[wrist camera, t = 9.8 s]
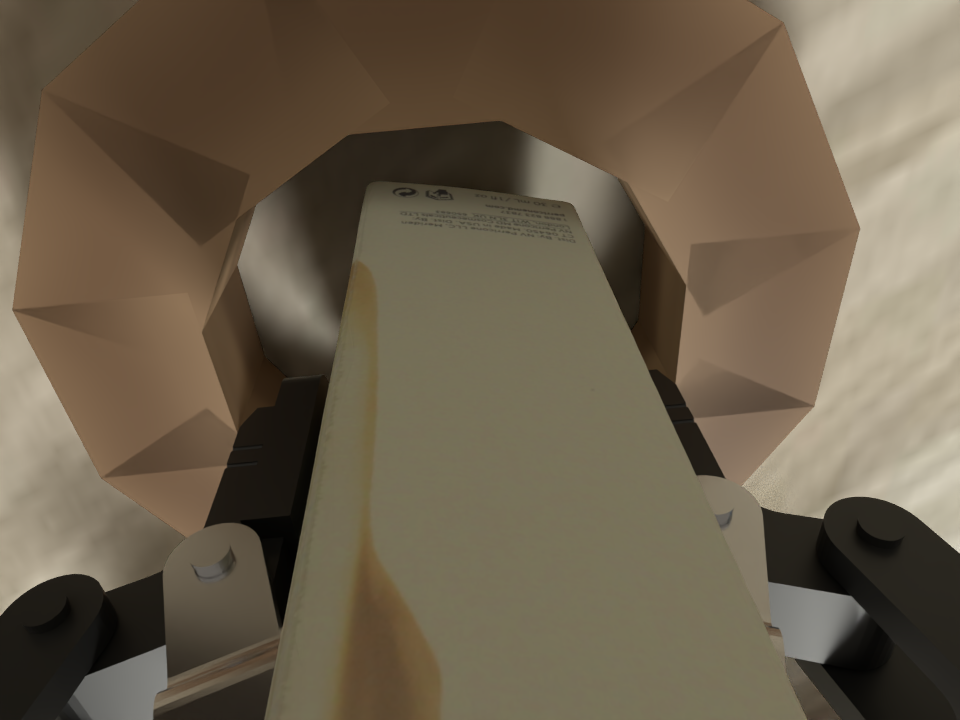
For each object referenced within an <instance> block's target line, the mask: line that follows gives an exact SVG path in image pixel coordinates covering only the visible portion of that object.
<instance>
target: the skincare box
mask: <svg viewBox="0 0 960 720" xmlns="http://www.w3.org/2000/svg"><path fill="white" fill-rule="evenodd" d="M264 720H807V718H806V715H805V713H804V711H803V709H802V707H801V704H800V702H799V700H798V698H797V696H796V693H795V691H794V689H793V687H792V685H791V683H790V680H789V678H788V676H787V674H786V672H785V669H784V667H783V665H782V663H781V661H780V659H779V656H778V654H777V652H776V650H775V648H774V646H773V644H772V641H771V639H770V637H769V634H768V632H767V630H766V627H765V625H764V623H763V620H762V618H761V616H760V613H759V611H758V609H757V607H756V605H755V603H754V601H753V599H752V597H751V595H750V593H749V590H748V588H747V586H746V584H745V582H744V579H743V577H742V574H741V572H740V570H739V567H738V565H737V562H736V560H735V558H734V556H733V554H732V552H731V550H730V548H729V546H728V544H727V542H726V540H725V538H724V535H723V533H722V531H721V528H720V526H719V524H718V521H717V519H716V517H715V515H714V513H713V511H712V509H711V507H710V505H709V503H708V501H707V499H706V497H705V494H704V492H703V489H702V487H701V484H700V482H699V480H698V478H697V476H696V474H695V472H694V470H693V468H692V465H691V463H690V461H689V458H688V456H687V454H686V452H685V450H684V448H683V446H682V444H681V441H680V439H679V437H678V435H677V433H676V431H675V428H674V426H673V424H672V422H671V420H670V417H669V415H668V413H667V411H666V409H665V406H664V404H663V402H662V400H661V397H660V395H659V393H658V391H657V389H656V386H655V384H654V382H653V380H652V378H651V376H650V374H649V371H648V369H647V366H646V364H645V362H644V360H643V358H642V356H641V353H640V351H639V349H638V347H637V344H636V342H635V340H634V337H633V335H632V333H631V331H630V329H629V327H628V324H627V322H626V320H625V318H624V316H623V314H622V312H621V310H620V308H619V305H618V303H617V301H616V298H615V296H614V294H613V292H612V289H611V287H610V285H609V283H608V281H607V279H606V276H605V274H604V272H603V270H602V267H601V265H600V263H599V261H598V259H597V257H596V254H595V252H594V250H593V247H592V245H591V243H590V240H589V238H588V236H587V234H586V232H585V230H584V228H583V226H582V223H581V221H580V219H579V216H578V214H577V212H576V210H575V208H574V206H573V205H572V204H570V203H567V202H563V201H556V200H548V199H540V198H533V197H527V196H521V195H513V194H506V193H498V192H491V191H482V190H474V189H466V188H457V187H448V186H438V185H426V184H412V183H399V182H385V181H374V182H371V183H370V184H368V186H367V188H366V192H365V196H364V201H363V206H362V211H361V216H360V221H359V227H358V233H357V239H356V244H355V250H354V256H353V261H352V267H351V272H350V278H349V283H348V289H347V294H346V299H345V304H344V309H343V314H342V319H341V324H340V330H339V335H338V341H337V346H336V352H335V357H334V363H333V368H332V373H331V378H330V383H329V388H328V393H327V398H326V403H325V408H324V413H323V418H322V424H321V429H320V435H319V440H318V446H317V451H316V456H315V462H314V467H313V473H312V478H311V484H310V489H309V494H308V499H307V505H306V510H305V515H304V520H303V525H302V530H301V536H300V541H299V546H298V551H297V556H296V561H295V567H294V572H293V577H292V582H291V587H290V592H289V597H288V603H287V608H286V613H285V618H284V623H283V628H282V633H281V638H280V643H279V648H278V653H277V658H276V663H275V668H274V673H273V678H272V683H271V688H270V693H269V698H268V703H267V708H266V714H265V719H264Z"/></svg>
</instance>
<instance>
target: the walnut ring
mask: <svg viewBox="0 0 960 720" xmlns="http://www.w3.org/2000/svg"><path fill="white" fill-rule="evenodd" d="M490 121H503V122H505V123H507V124H509V125H511V126H513V127H515V128H517V129H519V130H521V131H523V132H525V133H527V134H529V135H531V136H533V137H535V138H538V139H540V140H542V141H544V142H546V143H548V144H550V145H552V146H554V147H556V148H558V149H560V150H562V151H564V152H566V153H568V154H570V155H573V156H575V157H577V158H579V159H581V160H583V161H585V162H587V163H589V164H591V165H593V166H595V167H597V168H599V169H601V170H603V171H605V172H607V173H610V174H612V175H614V176H616V177H617V178H618V180H619V182H620V183H621V185H622V187H623V189H624V190H625V192H626V194H627V196H628V197H629V199H630V201H631V202H632V204H633V206H634V208H635V209H636V211H637V213H638V215H639V216H640V218H641V220H642V222H643V223H644V225H645V233H644V247H643V262H642V277H641V291H640V306H639V320H638V321H637V323H636V324H635V326H634V327H633V329H632V330H631V333H632V335H633V337H634V340H635V342H636V344H637V347H638V349H639V351H640V353H641V356H642V358H643V360H644V362H645V364H646V366H647V369H648V370H654V369H657V370H658V371H659V372H661V373H662V374H663V375H665V376H666V377H667V378H669V379H670V380H671V381H672V382H674V383H675V384H676V385H677V387H678V389H679V391H680V393H681V394H682V396H683V398H684V400H685V402H686V407H688V408H689V410H690V412H691V413H692V415H693V417H694V422H695V423H697V425H698V427H699V429H700V431H701V432H702V434H703V436H704V438H705V440H706V442H707V444H708V446H709V448H710V450H711V451H712V453H713V455H714V457H715V459H716V461H717V463H718V465H719V467H720V469H721V470H722V472H723V474H724V476H725V478H726V479H727V480H730V481H732V482H735V483H737V484H739V485H740V486H742V485H743V484H744V482H745V481H746V480H747V479H748V478H749V477H750V476H751V475H752V474H753V473H754V472H755V470H756V469H757V468H758V467H759V466H760V465H761V464H762V463H763V462H764V461H765V459H766V458H767V457H768V456H769V455H770V454H771V453H772V452H773V451H774V450H775V449H776V447H777V446H778V445H779V444H780V443H781V442H782V441H783V440H784V439H785V438H786V437H787V435H788V434H789V433H790V432H791V431H792V430H793V429H794V428H795V427H796V426H797V424H798V423H799V422H800V421H801V420H802V419H803V418H804V417H805V416H806V415H807V414H808V412H809V411H810V410H811V409H812V408H813V407H814V405H815V401H816V397H817V393H818V390H819V386H820V382H821V378H822V374H823V370H824V366H825V362H826V359H827V355H828V351H829V347H830V343H831V339H832V335H833V331H834V328H835V324H836V320H837V316H838V312H839V308H840V304H841V300H842V297H843V293H844V289H845V285H846V281H847V277H848V273H849V270H850V266H851V262H852V258H853V254H854V250H855V246H856V242H857V239H858V235H859V231H860V227H859V224H858V221H857V219H856V216H855V213H854V210H853V208H852V205H851V202H850V200H849V197H848V194H847V192H846V189H845V186H844V184H843V181H842V178H841V176H840V173H839V170H838V167H837V165H836V162H835V159H834V157H833V154H832V151H831V149H830V146H829V143H828V141H827V138H826V135H825V133H824V130H823V127H822V124H821V122H820V119H819V116H818V114H817V111H816V108H815V106H814V103H813V100H812V98H811V95H810V92H809V90H808V87H807V84H806V81H805V79H804V76H803V73H802V71H801V68H800V65H799V63H798V60H797V57H796V55H795V52H794V49H793V47H792V44H791V41H790V38H789V36H788V33H787V30H786V28H785V25H784V22H782V21H780V20H779V19H777V18H775V17H774V16H772V15H770V14H769V13H767V12H766V11H764V10H762V9H761V8H759V7H758V6H756V5H754V4H753V3H751V2H749V1H748V0H139V1H138V2H137V3H136V4H135V5H134V6H133V7H131V8H130V9H129V10H128V11H127V12H126V13H125V14H124V15H123V16H122V17H121V18H120V19H118V20H117V21H116V22H115V23H114V24H113V25H112V26H111V27H110V28H109V29H108V30H107V31H105V32H104V33H103V34H102V35H101V36H100V37H99V38H98V39H97V40H96V41H95V42H94V43H92V44H91V45H90V46H89V47H88V48H87V49H86V50H85V51H84V52H83V53H82V54H80V55H79V56H78V57H77V58H76V59H75V60H74V61H73V62H72V63H71V64H70V65H69V66H67V67H66V68H65V69H64V70H63V71H62V72H61V73H60V74H59V75H58V76H57V77H56V78H54V79H53V80H52V81H51V82H50V83H49V84H48V85H47V86H46V87H45V88H44V89H42V93H41V101H40V108H39V116H38V123H37V131H36V138H35V146H34V153H33V160H32V168H31V175H30V183H29V190H28V198H27V205H26V213H25V220H24V227H23V235H22V242H21V250H20V257H19V265H18V272H17V280H16V287H15V294H14V302H13V309H12V310H13V312H14V314H15V316H16V318H17V320H18V322H19V323H20V325H21V327H22V329H23V331H24V333H25V335H26V337H27V339H28V340H29V342H30V344H31V346H32V348H33V350H34V352H35V354H36V356H37V358H38V359H39V361H40V363H41V365H42V367H43V369H44V371H45V373H46V375H47V377H48V378H49V380H50V382H51V384H52V386H53V388H54V390H55V392H56V394H57V396H58V397H59V399H60V401H61V403H62V405H63V407H64V409H65V411H66V413H67V414H68V416H69V418H70V420H71V422H72V424H73V426H74V428H75V430H76V432H77V433H78V435H79V437H80V439H81V441H82V443H83V445H84V447H85V449H86V451H87V452H88V454H89V456H90V458H91V460H92V462H93V464H94V466H95V468H96V470H97V471H98V473H99V475H100V477H101V478H102V479H103V480H104V481H106V482H107V483H109V484H110V485H112V486H113V487H115V488H116V489H117V490H119V491H120V492H122V493H123V494H125V495H126V496H127V497H129V498H130V499H132V500H133V501H135V502H136V503H138V504H139V505H140V506H142V507H143V508H145V509H146V510H148V511H149V512H150V513H152V514H153V515H155V516H156V517H158V518H159V519H161V520H162V521H163V522H165V523H166V524H168V525H169V526H171V527H172V528H174V529H175V530H176V531H178V532H179V533H181V534H182V535H184V536H185V537H186V538H187V537H189V536H190V535H192V534H194V533H195V532H197V531H199V530H201V529H204V526H205V523H206V520H207V517H208V515H209V512H210V509H211V506H212V503H213V501H214V498H215V495H216V492H217V489H218V487H219V484H220V481H221V478H222V475H223V472H224V470H225V468H227V461H228V458H229V456H230V453H231V451H233V444H234V442H235V439H236V436H237V433H238V430H239V428H240V426H241V425H242V424H243V423H244V422H245V421H246V420H247V418H248V417H249V416H250V415H251V414H252V413H253V412H254V411H255V410H256V409H257V408H260V407H270V406H275V403H276V400H277V396H278V393H279V390H280V386H281V383H282V381H283V379H284V378H287V377H286V376H285V375H284V374H283V373H282V372H281V371H280V370H278V369H277V368H276V367H275V366H274V365H273V364H272V363H271V362H270V361H269V360H268V359H267V358H266V357H265V356H264V353H263V350H262V346H261V343H260V340H259V336H258V333H257V330H256V327H255V323H254V320H253V317H252V313H251V310H250V307H249V303H248V300H247V297H246V293H245V290H244V287H243V283H242V280H241V277H240V273H239V270H238V267H237V263H238V260H239V257H240V254H241V251H242V248H243V244H244V241H245V238H246V235H247V232H248V229H249V226H250V222H251V219H252V216H253V213H254V210H255V207H256V204H257V203H259V202H260V201H261V200H263V199H264V198H265V197H267V196H268V195H269V194H271V193H272V192H273V191H274V190H276V189H277V188H278V187H280V186H281V185H282V184H284V183H285V182H286V181H288V180H289V179H290V178H292V177H293V176H294V175H296V174H297V173H298V172H300V171H301V170H302V169H304V168H305V167H306V166H308V165H309V164H310V163H311V162H313V161H314V160H315V159H317V158H318V157H319V156H321V155H322V154H323V153H325V152H326V151H327V150H329V149H330V148H331V147H333V146H334V145H335V144H337V143H338V142H339V141H341V140H342V139H343V138H344V137H346V136H347V135H350V134H361V133H372V132H382V131H393V130H404V129H415V128H426V127H436V126H447V125H458V124H469V123H480V122H490Z"/></svg>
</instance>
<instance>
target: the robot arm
mask: <svg viewBox="0 0 960 720" xmlns="http://www.w3.org/2000/svg"><path fill="white" fill-rule="evenodd" d="M648 371H649V374H650V376H651V378H652V380H653V382H654V384H655V386H656V389H657V391H658V393H659V395H660V397H661V400H662V402H663V404H664V406H665V409H666V411H667V413H668V415H669V417H670V420H671V422H672V424H673V426H674V428H675V431H676V433H677V435H678V437H679V439H680V441H681V444H682V446H683V448H684V450H685V452H686V454H687V456H688V458H689V461H690V463H691V465H692V468H693V470H694V472H695V474H696V476H697V478H698V480H699V482H700V484H701V487H702V489H703V492H704V494H705V497H706V499H707V501H708V503H709V505H710V507H711V509H712V511H713V513H714V515H715V517H716V519H717V521H718V524H719V526H720V528H721V531H722V533H723V535H724V538H725V540H726V542H727V544H728V546H729V548H730V550H731V552H732V554H733V556H734V558H735V560H736V562H737V565H738V567H739V570H740V572H741V574H742V577H743V579H744V582H745V584H746V586H747V588H748V590H749V593H750V595H751V597H752V599H753V601H754V603H755V605H756V607H757V609H758V611H759V613H760V616H761V618H762V620H763V623H764V625H765V627H766V630H767V632H768V634H769V637H770V639H771V641H772V644H773V646H774V648H775V650H776V652H777V654H778V656H779V659H780V661H781V663H782V665H783V667H784V669H785V672H786V662H785V656H787V657H792V658H794V659H795V660H796V662H797V663H798V664H799V666H800V667H801V668H802V670H803V671H804V672H805V673H806V675H807V676H808V677H809V678H810V680H811V681H812V682H813V684H814V685H815V686H816V687H817V689H818V690H819V691H820V693H821V694H822V695H823V696H824V698H825V699H826V700H827V701H828V703H829V704H830V705H831V707H832V708H833V709H834V710H835V712H836V713H837V714H838V715H839V717H840V718H841V719H842V720H960V554H959V553H958V552H957V551H956V550H955V549H954V548H952V547H951V546H950V545H949V544H948V543H947V542H945V541H944V540H943V539H942V538H941V537H939V536H938V535H937V534H936V533H935V532H934V531H932V530H931V529H930V528H929V527H928V526H926V525H925V524H924V523H923V522H922V521H921V520H919V519H918V518H917V517H915V516H914V515H913V514H912V513H910V512H908V511H907V510H905V509H903V508H901V507H899V506H897V505H895V504H892V503H890V502H887V501H884V500H880V499H876V498H869V497H849V498H845V499H841V500H839V501H837V502H835V503H833V504H832V505H831V506H830V507H829V508H828V509H827V511H826V513H825V515H824V518H823V519H818V518H812V517H805V516H798V515H791V514H785V513H780V512H775V511H771V510H768V509H765V508H763V507H760V505H759V503H758V501H757V500H756V499H755V497H754V496H753V495H752V494H751V493H750V492H749V491H747V490H746V489H745V488H744V487H742V486H740V485H739V484H737V483H735V482H732V481H730V480H727V479H726V478H725V476H724V474H723V472H722V470H721V469H720V467H719V465H718V463H717V461H716V459H715V457H714V455H713V453H712V451H711V450H710V448H709V446H708V444H707V442H706V440H705V438H704V436H703V434H702V432H701V431H700V429H699V427H698V425H697V423H695V422H694V417H693V415H692V413H691V412H690V410H689V408H688V407H686V402H685V400H684V398H683V396H682V394H681V393H680V391H679V389H678V387H677V385H676V384H675V383H674V382H672V381H671V380H670V379H669V378H667V377H666V376H665V375H663V374H662V373H661V372H659V371H658V370H657V369H654V370H648ZM328 388H329V384H328V381H327V378H326V376H325V375H314V376H304V377H293V378H284V379H283V381H282V383H281V386H280V390H279V393H278V396H277V400H276V403H275V406H270V407H260V408H257V409H256V410H255V411H254V412H253V413H252V414H251V415H250V416H249V417H248V418H247V420H246V421H245V422H244V423H243V424H242V425H241V426H240V428H239V430H238V433H237V436H236V439H235V442H234V444H233V451H231V453H230V456H229V458H228V461H227V468H225V470H224V472H223V475H222V478H221V481H220V484H219V487H218V489H217V492H216V495H215V498H214V501H213V503H212V506H211V509H210V512H209V515H208V517H207V520H206V523H205V526H204V529H201V530H199V531H197V532H195V533H194V534H192V535H190V536H189V537H187V538H186V539H185V540H183V541H182V542H181V543H180V544H179V545H178V546H177V547H176V548H175V549H174V550H173V551H172V553H171V554H170V556H169V557H168V559H167V561H166V563H165V566H164V569H163V571H161V572H159V573H157V574H154V575H152V576H150V577H147V578H144V579H141V580H139V581H136V582H133V583H130V584H127V585H125V586H122V587H119V588H116V589H113V590H111V591H108V592H104V590H103V588H102V587H101V585H100V583H99V582H98V581H97V580H96V579H94V578H92V577H90V576H87V575H82V574H71V575H64V576H60V577H56V578H53V579H50V580H47V581H45V582H43V583H41V584H39V585H37V586H35V587H34V588H32V589H30V590H29V591H27V592H26V593H24V594H23V595H21V596H20V597H19V598H18V599H17V600H15V601H14V602H13V603H12V604H11V605H10V606H9V607H8V608H7V609H6V610H5V611H4V613H3V614H2V615H1V616H0V720H264V719H265V714H266V708H267V703H268V698H269V693H270V688H271V683H272V678H273V673H274V668H275V663H276V658H277V653H278V648H279V643H280V638H281V633H282V628H283V623H284V618H285V613H286V608H287V603H288V597H289V592H290V587H291V582H292V577H293V572H294V567H295V561H296V556H297V551H298V546H299V541H300V536H301V530H302V525H303V520H304V515H305V510H306V505H307V499H308V494H309V489H310V484H311V478H312V473H313V467H314V462H315V456H316V451H317V446H318V440H319V435H320V429H321V424H322V418H323V413H324V408H325V403H326V398H327V393H328ZM786 674H787V672H786Z"/></svg>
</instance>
